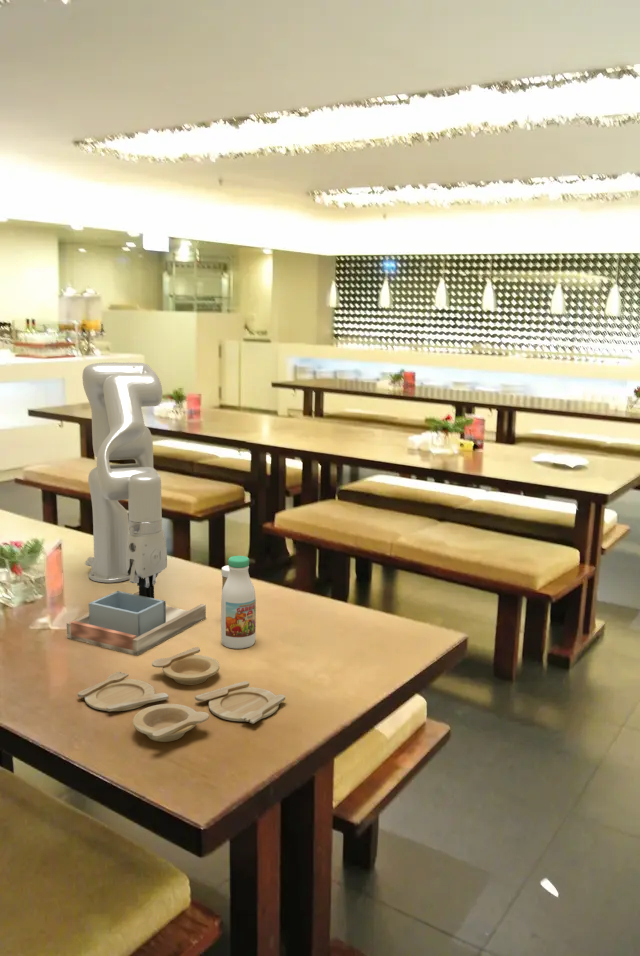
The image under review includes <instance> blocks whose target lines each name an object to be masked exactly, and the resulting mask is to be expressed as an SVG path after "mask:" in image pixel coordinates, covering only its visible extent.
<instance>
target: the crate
mask: <svg viewBox="0 0 640 956" xmlns="http://www.w3.org/2000/svg"><path fill="white" fill-rule="evenodd" d="M166 603H167V602H166V600H164V599H163V600H162V599H158V598H155V597H154V598H149V597H145V596H140V595H135V594H134V593H130V592H126V591H120V590H117V591H114V592H112V593H109V594H107V595H105V596H103V597H100V598H98V599H95V600H93V601H90V602H89V603H88V614H89V624H90V625H94V626H98V627H103V628H107V629H111V630H115V631H119V632H124V633H128V634H132V635H136V638H137V637H139V636H140V635H142V634H144V633H146V632H148V631H150V630H152V629H154V628H156V627H158V626H160V625H162V624H164V623H166V606H167V605H166Z"/></svg>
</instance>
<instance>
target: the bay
mask: <svg viewBox="0 0 640 956" xmlns="http://www.w3.org/2000/svg"><path fill="white" fill-rule="evenodd" d="M133 594H135V595H139V591H137V592H135V593H133ZM206 614H207V606H206V604H203V603H200V604H198V605H196V606H195V607H193V608H191V609H189V610H188V609H181V608H177V607H173V606H168V605H166V623H164V624H162V625H160V626H158V627H156V628H154V629H152V630H150V631H148V632H146V633H144V634H142V635H140V636H139V637H137V638H136V635H132V634H128V633H124V632H119V631H115V630H111V629H107V628H103V627H98V626H94V625H90V624H89V613H87V614H85V615H82V616H80V617H78V618H76V619H74V620H72V621H69V622H67V623H66V638H67V639H70V640H73V641H77V640H78V641H77V642H81V641H82V642H81V643H84V642H86V644H88V643H90V644H89V645H92V644H93V646H96V647H101V648H103V649H108V650H113V651H117V652H121V653H125V654H129V655H133V656H136V657H138V656H140V655H142V654H143V653H145V652H147V651H149V650H150V649H152V648H155V647H156V646H158V645H160V644H162V643H163V642H166V641H167V640H169V639H171V638H172V637H175V636H176V635H179V634H180V633H182V632H183V630H184V631H185V629H186V630H187V629H189V628H191V627H193V626H195V625H196V624H198V623H200V622H202V621H204V620H205V618H207V615H206ZM203 619H204V620H203ZM201 620H202V621H201ZM194 624H195V625H194ZM192 625H193V626H192ZM190 626H191V627H190ZM188 627H189V628H188ZM181 631H182V632H181ZM179 632H180V633H179ZM174 635H175V636H174Z"/></svg>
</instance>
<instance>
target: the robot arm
mask: <svg viewBox="0 0 640 956" xmlns="http://www.w3.org/2000/svg"><path fill="white" fill-rule="evenodd" d="M82 385H83V390H84V392H85V396H86V398H87V399H88V403H89V407H90V411H91V432H92V433H91V436H92V449H93V454H94V456H95V457H96V466H95V467H93V468H92V469H91V470H90V471H89V473H88V476H87V477H88V489H89V493H90V500H91V507H92V529H93V531H92V532H93V533H92V534H93V557H92V556H89V557H88V558H87V560H86V561H85V563H84V564H85V566H87V567H91V570H90V571H89V572H88V578H89V579H90V580H91V581H94V582H98V583H104V584H105V583H109V584H110V583H120V582H125V581H128V580H129V583H131V584H136V586H137V587H138V592H139V595H140V596H145V597H149V598H154V599H155V585H156V583H157V576H159V574H160V573H162V572H163V571H165V570H166V568H167V566H168V552H167V541H166V536H165V532H164V529H163V526H162V525H163V524H162V523H163V521H162V520H163V519H162V518H163V517H162V514H163V512H162V509H163V508H162V480H161V475H160V473H158V471H157V469H156V468H154V444H153V437H152V433H151V430H150V429H149V428H148V427H147V426H146V424H145V421H144V416H143V410H142V407H146V408H147V407H157V406H159V405H160V403H161V402H162V399H163V387H162V383H161V381H160V378H159V376H158V374H157V373H156V372H155V371H154V370H153V369H152V368H151V367H150V366H149V365H148V364H147V363H144V362H97V363H95V362H94V363H91V364H88V365H86V366H85V367H84V369H83V371H82ZM121 460H134V461H135V463H119V464H118V463H113V464H110V461H121ZM124 500H127V501H128V506H127V507H128V511H127V509H126V508H125V507H124V506H123V505H122V504H121V503H120V502H119V501H124Z"/></svg>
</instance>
